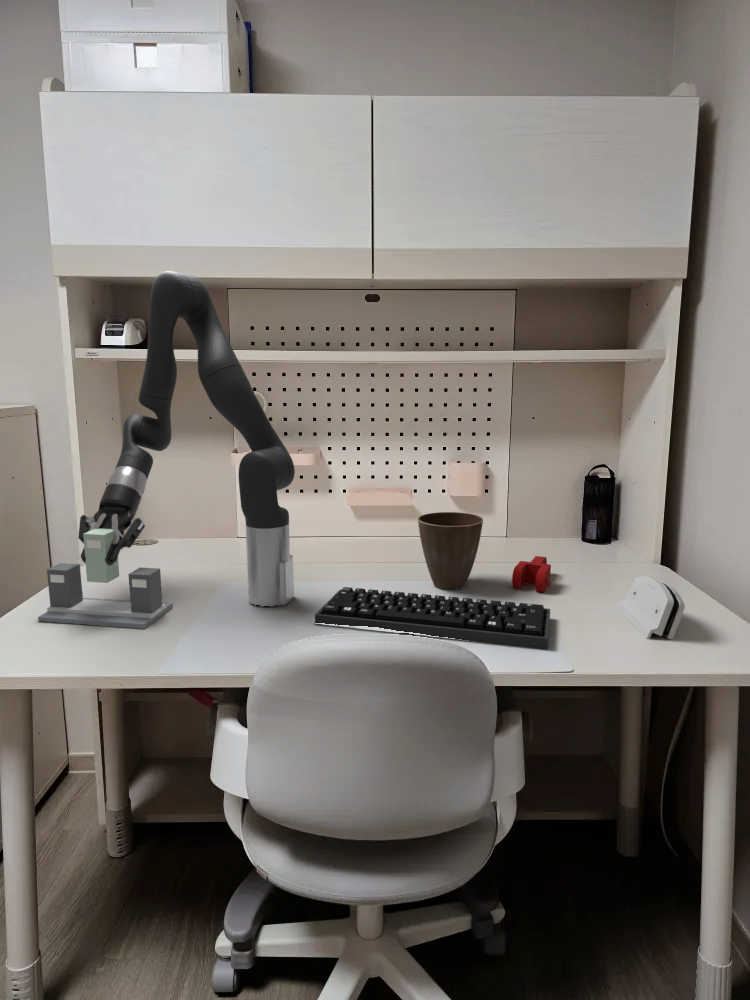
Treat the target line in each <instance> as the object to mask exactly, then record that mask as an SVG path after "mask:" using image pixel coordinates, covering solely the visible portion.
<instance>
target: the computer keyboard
mask: <svg viewBox="0 0 750 1000" xmlns="http://www.w3.org/2000/svg"><path fill="white" fill-rule="evenodd" d="M550 620H551V608H544V604H536V603H525V602H519V604H518V605H516V602H515V601H505V602H504V604H503V603H502V601H501V600H492V599H491V600H490V602H489V603H488V601H487V599H480V598H476V601H474V599H473V598H470V597H462V599H461V600H460V598H459V597H458V596H448V599H447V598H446V596H445V595H437V594H436V595H434V597H432V594H426V593H421V596H419V594H418V593H414V592H408V593H407V595H406V594H405V592H404V591H394V593H393V592H392V591H391V590H381V592H380V591H379V590H378V589H368V591H366V588H358V587H357V588H355V589H354V590H353V587H346V586H343V587H342V589H339V590H338V591H337V592H336V593H334V595H333V596H332V597H331V598H330V599H329V600H328V601H327V602H326V603H325V604H324V605H323V606H322V607H321V608H320V609H319V610H318V611H317V612H316V613H315V614H314V624H315V623H325V624H335V625H336V624H337V625H349V626H368V627H379V628H384V629H391V630H396V631H404V632H413V633H420V634H426V635H431V636H439V637H448V638H455V639H462V640H469V641H468V642H472V641H475V642H474V643H482V644H483V642H484V644H490V643H491V644H492V645H501V646H509V647H511V646H512V647H517V648H518V647H519V648H529V649H537V650H548V645H549V632H550ZM399 634H400V635H407V634H409V633H399ZM410 636H415V635H414V634H411V635H410ZM462 640H461V641H462Z"/></svg>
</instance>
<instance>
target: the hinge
mask: <svg viewBox="0 0 750 1000" xmlns="http://www.w3.org/2000/svg"><path fill="white" fill-rule="evenodd" d="M615 610H616V611H617V612H618V614H620V615H621V616H622V617H623V618H624V619H625V620H626V621H627V622H628V623H629V624H630V625H631V626H632V627H634V629H636V631H637V632H639V633H640V635H642V637H643V638H645V639H646V640H650V638H651V637H652V635H653V634H655V635H658V636H659V637H662V636H664V637H666V638H667V639H669V640H673V639H674V637H675V635H676V632H677V629H678V627H679V625H680V622H681V618H682V617H683V614H684V611H685V603H684V600H683V599H682V596H681V595H680V594H679V593H678V591H677V590H676V589H675V588H674V587H673V586H672V585H670V584H668V583H666V582H665V581H664V580H661V579H657V578H654V577H650V576H645V575H642V576H641V575H640V576H636V578H635V580H634V581H633V583H632V585H631V587H630V589H629V591H628V592H627V595H626V596H625V598H624V599H622V600H619V601H618V602H617V604H616V606H615Z"/></svg>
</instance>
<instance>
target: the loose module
mask: <svg viewBox="0 0 750 1000" xmlns="http://www.w3.org/2000/svg"><path fill="white" fill-rule="evenodd" d="M83 536H84V544H83V548H84V549H85V558H86V561H85V562H86V563H85V572H86V582H88V583H89V582H90V583H103V584H108V583H110V582H112V581H114V580H115V579H118V577H120V566H119V565H120V563H119V557H118V558H117V560H116V562H115V563H113V565H108V564H107V563H106V562H105V558H106V556H107V553H108V551H109V548H110V545H113V543H112V540H113V537H114V530H112V529H93V530H90V531H89V532H86V533H84V534H83Z"/></svg>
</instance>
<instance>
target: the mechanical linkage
mask: <svg viewBox="0 0 750 1000" xmlns="http://www.w3.org/2000/svg"><path fill="white" fill-rule="evenodd" d="M547 562H548V559H547V557H546V556H539V555H535V556H534V557H533V559H532V560H531V561H525V560H524V561H523V560H520V561H519V562H518V563H517V564H516V565H515V567H514V568H513V571H512V577H511V585H512V588H513V589H517V590H522V588H523V587H524V586H525V584H529V585H535V592H539V593H545V592H546V591H547V590H548V587H550V585H551V572H552V571H551V568H552V564H550V563H549V564H548V563H547Z"/></svg>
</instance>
